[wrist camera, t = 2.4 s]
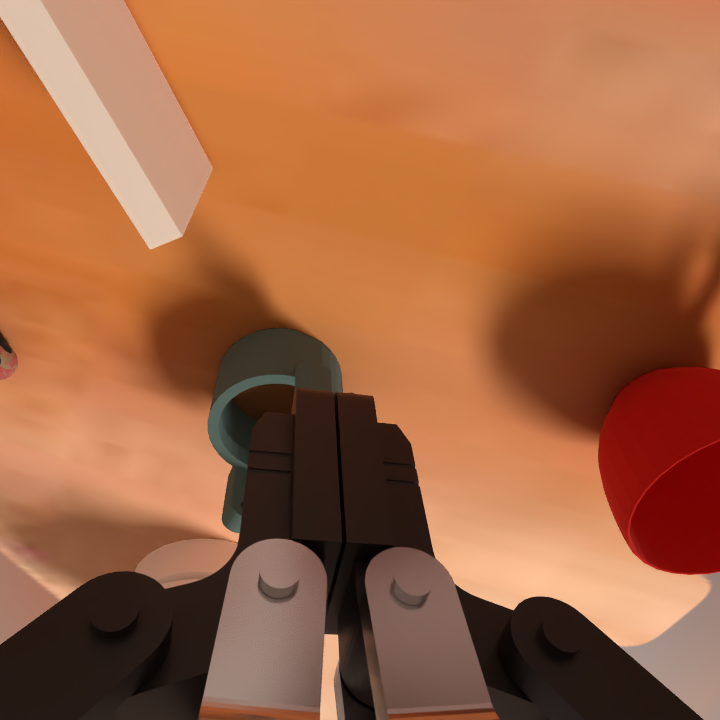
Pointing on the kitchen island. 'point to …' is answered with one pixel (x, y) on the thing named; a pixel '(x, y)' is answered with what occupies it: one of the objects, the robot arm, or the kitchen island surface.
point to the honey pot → (186, 561)
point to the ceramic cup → (666, 468)
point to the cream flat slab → (116, 106)
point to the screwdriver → (7, 359)
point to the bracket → (253, 368)
